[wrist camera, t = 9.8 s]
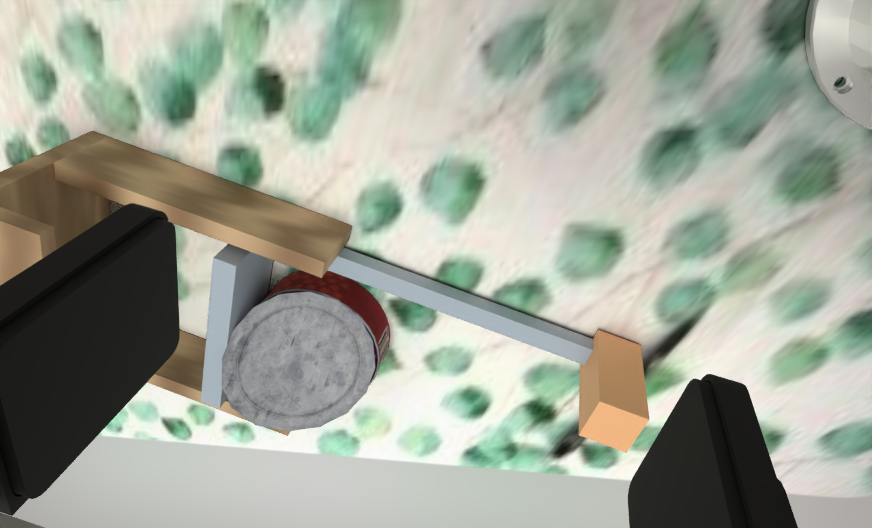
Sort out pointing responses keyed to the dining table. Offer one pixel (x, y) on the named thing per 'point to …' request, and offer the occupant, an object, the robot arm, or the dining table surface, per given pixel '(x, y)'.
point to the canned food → (305, 352)
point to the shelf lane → (162, 190)
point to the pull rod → (599, 357)
